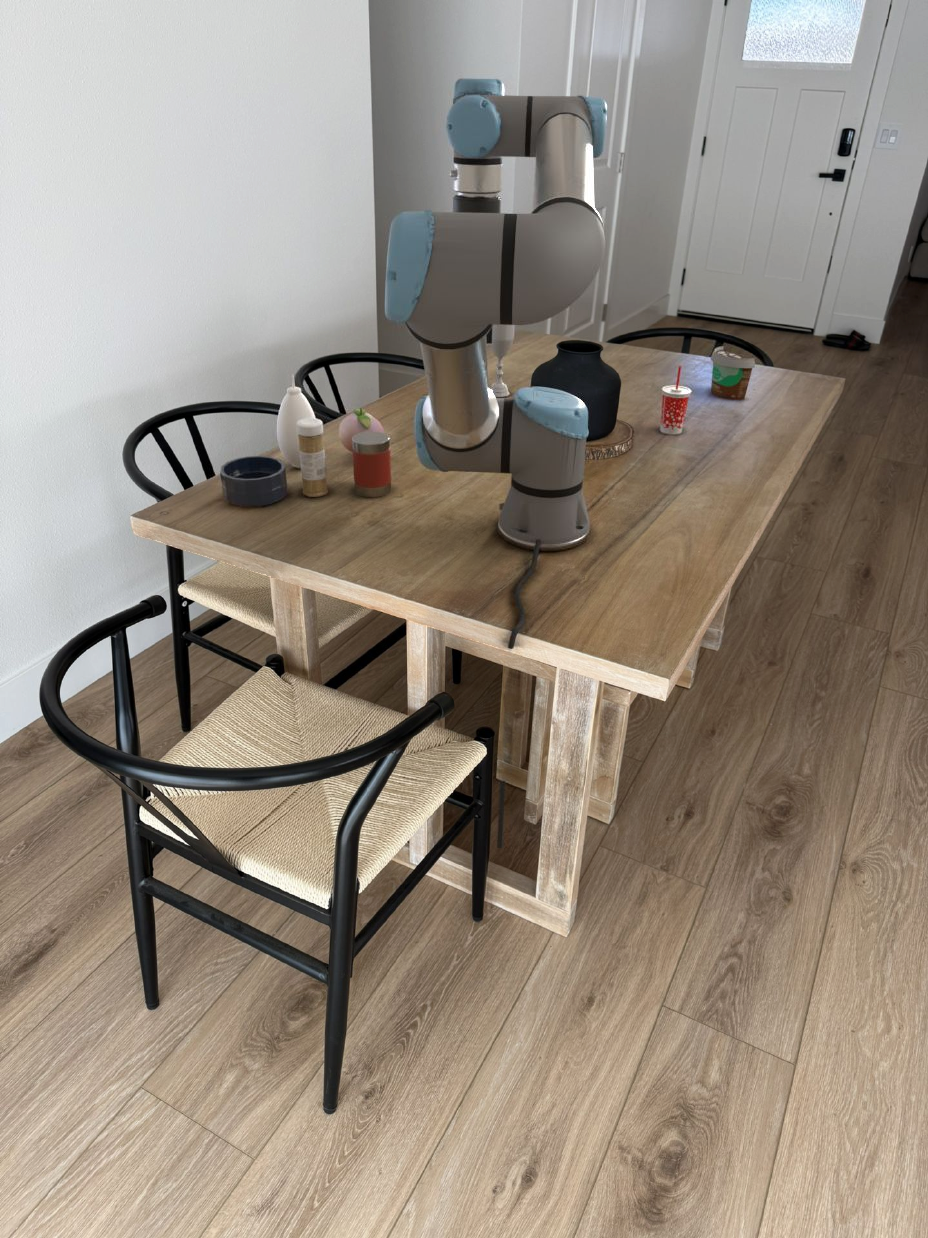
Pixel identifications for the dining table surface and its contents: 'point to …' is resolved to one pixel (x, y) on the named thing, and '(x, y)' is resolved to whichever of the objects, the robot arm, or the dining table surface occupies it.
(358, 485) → the tin can
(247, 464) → the bowl
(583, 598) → the dining table surface
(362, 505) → the dining table surface
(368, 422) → the decorative fruit
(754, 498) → the dining table surface
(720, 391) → the food container
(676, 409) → the beverage cup
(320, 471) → the sprinkles bottle
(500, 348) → the chalice
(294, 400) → the sauce bottle
